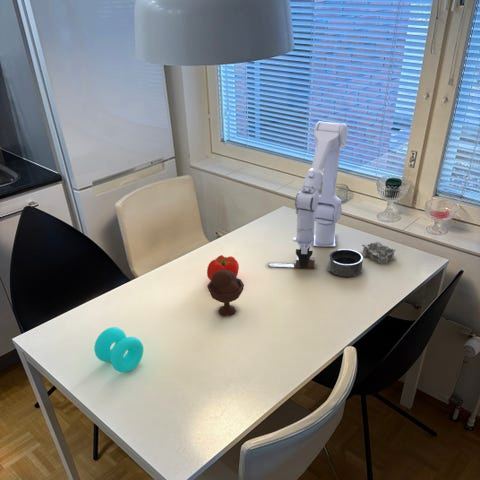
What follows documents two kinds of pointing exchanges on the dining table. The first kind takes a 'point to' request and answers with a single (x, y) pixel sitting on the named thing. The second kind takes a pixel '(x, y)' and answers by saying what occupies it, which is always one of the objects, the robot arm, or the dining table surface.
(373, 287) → the dining table surface
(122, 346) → the donuts
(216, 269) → the tomato
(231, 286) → the ice cream bowl
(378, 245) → the egg carton
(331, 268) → the bowl
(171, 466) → the dining table surface
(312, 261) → the knife
